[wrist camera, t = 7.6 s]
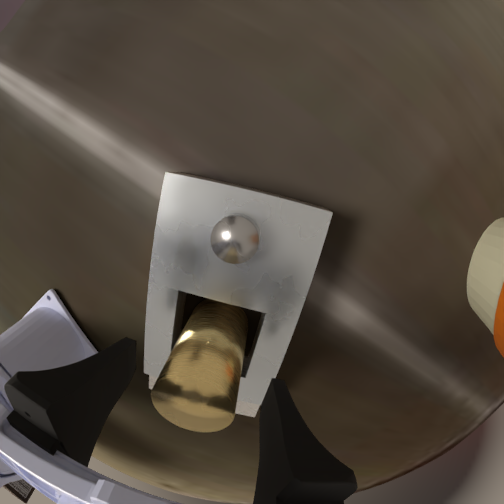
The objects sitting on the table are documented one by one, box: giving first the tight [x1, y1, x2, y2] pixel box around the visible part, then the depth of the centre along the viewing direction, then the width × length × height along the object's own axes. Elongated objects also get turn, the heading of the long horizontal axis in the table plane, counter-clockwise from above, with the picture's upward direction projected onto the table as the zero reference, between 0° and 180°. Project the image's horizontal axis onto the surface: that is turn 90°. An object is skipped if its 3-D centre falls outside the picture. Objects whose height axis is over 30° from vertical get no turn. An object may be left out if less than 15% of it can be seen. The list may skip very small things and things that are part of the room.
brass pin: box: [151, 299, 248, 432], centre depth 15 cm, size 4×4×8 cm
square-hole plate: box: [144, 172, 333, 417], centre depth 17 cm, size 17×9×3 cm, turn 166°
